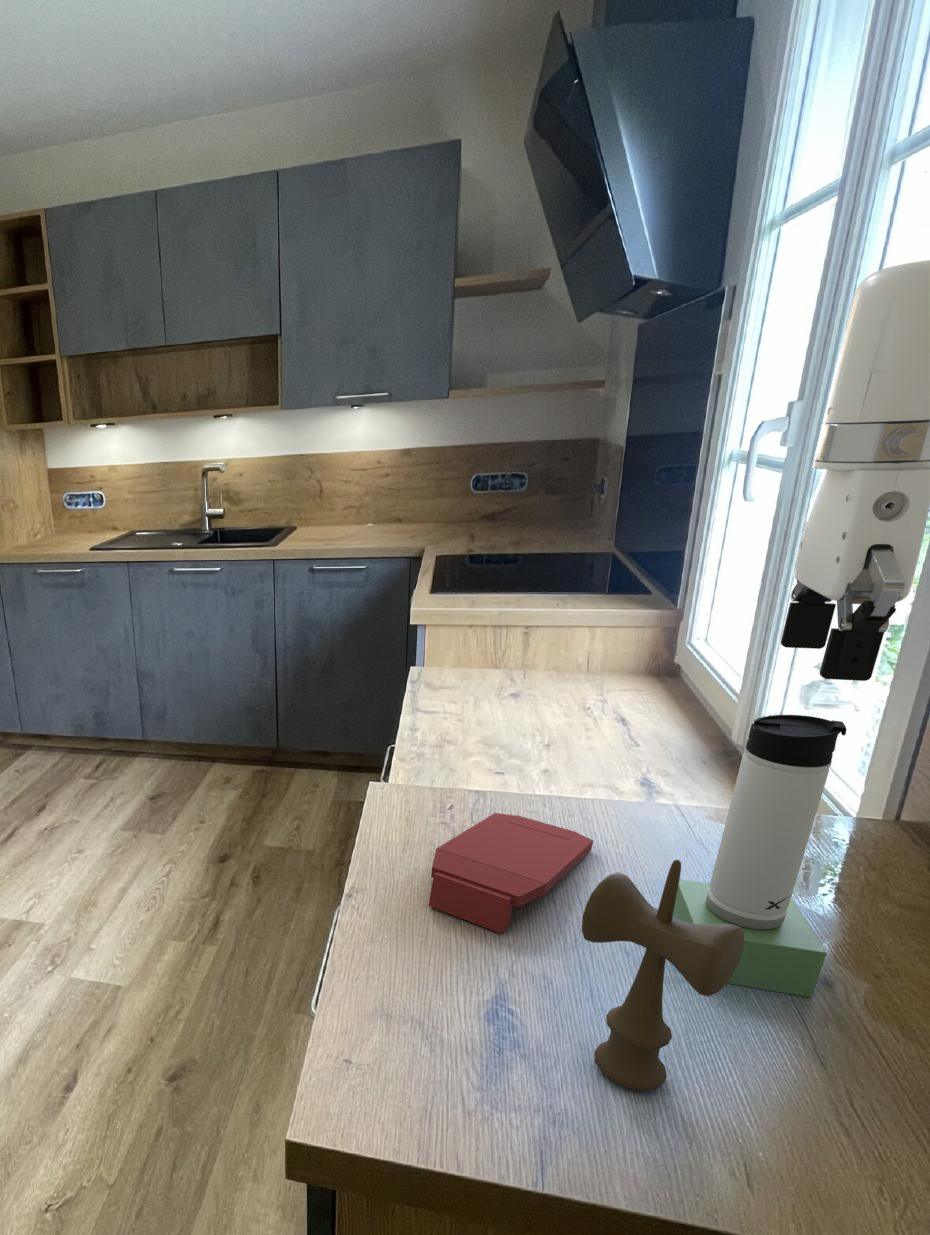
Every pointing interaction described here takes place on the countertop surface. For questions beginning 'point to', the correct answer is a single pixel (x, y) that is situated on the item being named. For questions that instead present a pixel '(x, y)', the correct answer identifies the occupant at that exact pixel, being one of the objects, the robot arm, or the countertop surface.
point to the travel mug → (771, 818)
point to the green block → (763, 946)
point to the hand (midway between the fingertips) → (821, 662)
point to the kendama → (653, 971)
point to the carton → (502, 867)
